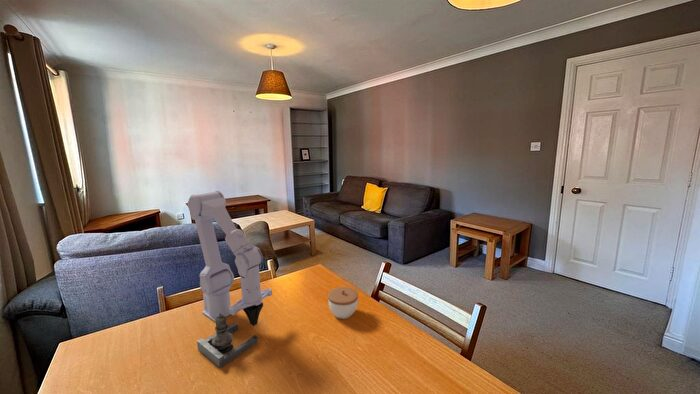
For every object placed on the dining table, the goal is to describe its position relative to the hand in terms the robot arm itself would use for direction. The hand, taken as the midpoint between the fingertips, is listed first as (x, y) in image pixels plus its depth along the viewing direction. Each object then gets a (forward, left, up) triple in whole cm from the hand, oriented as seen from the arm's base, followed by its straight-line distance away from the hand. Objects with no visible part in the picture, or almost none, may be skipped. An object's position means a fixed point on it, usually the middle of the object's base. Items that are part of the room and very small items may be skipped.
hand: (253, 323), depth 93 cm
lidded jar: (+18, +25, -3) cm, 31 cm away
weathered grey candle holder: (0, -11, -3) cm, 11 cm away
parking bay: (0, -9, -2) cm, 9 cm away
